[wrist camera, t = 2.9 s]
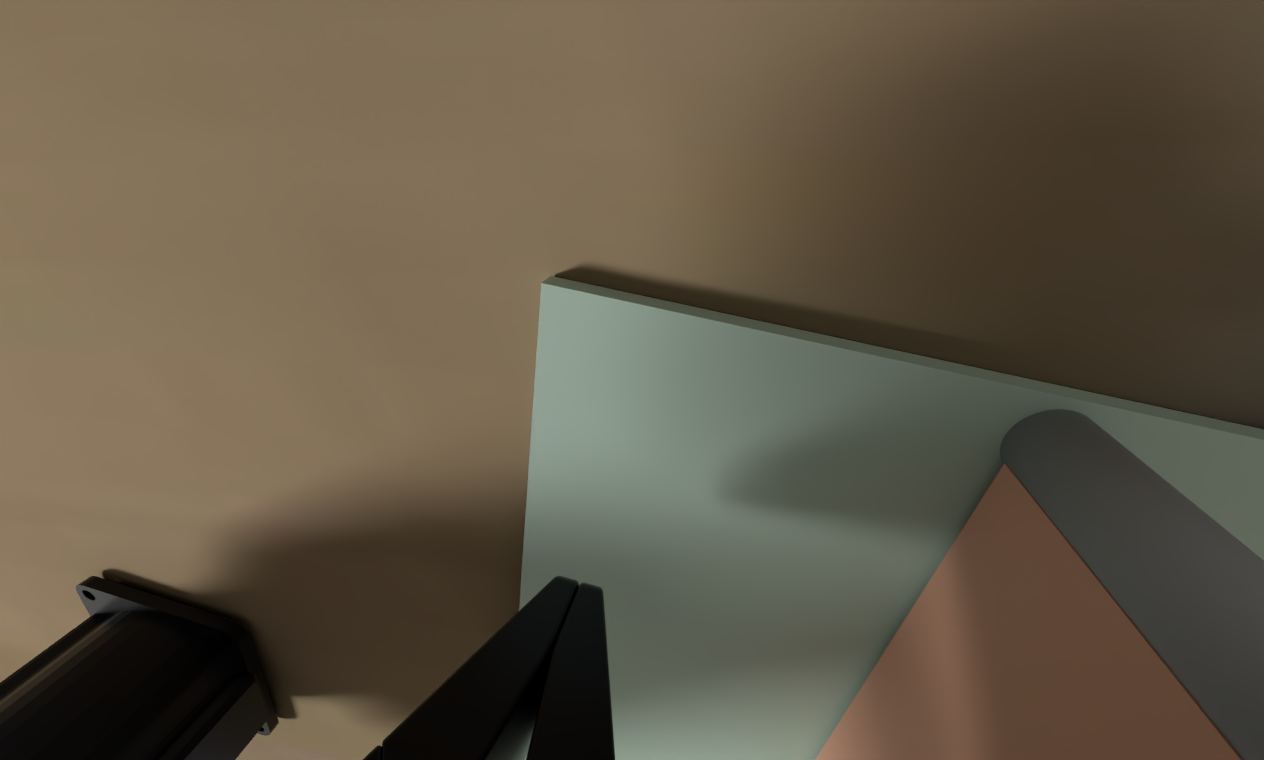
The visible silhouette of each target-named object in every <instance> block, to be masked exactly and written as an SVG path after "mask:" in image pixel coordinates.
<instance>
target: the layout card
mask: <svg viewBox="0 0 1264 760" xmlns="http://www.w3.org/2000/svg"><path fill="white" fill-rule="evenodd" d="M1055 409H1063V410H1072V411H1076V412H1079V413H1081V414H1084V415H1085V416H1087V417H1089V418H1090V419H1091V420H1092V421H1094V422H1095V423H1096V424H1097V425H1099V426H1100V427H1101V428H1102V429H1103V430H1105V431H1106V432H1107V433H1108V434H1110V435H1111V436H1112V437H1113V438H1114V439H1116V440H1117V441H1118V442H1119V443H1121V444H1122V445H1123V446H1124V447H1125V448H1127V449H1128V450H1129V451H1130V452H1132V453H1133V454H1134V455H1135V456H1137V457H1138V458H1139V459H1140V460H1141V461H1143V462H1144V463H1145V464H1146V465H1148V466H1149V467H1150V468H1151V469H1152V470H1154V471H1155V472H1156V473H1157V474H1159V475H1160V476H1161V477H1162V478H1163V479H1165V480H1166V481H1167V482H1168V483H1170V484H1171V485H1172V486H1173V487H1174V488H1176V489H1177V490H1178V491H1179V492H1181V493H1182V494H1183V495H1184V496H1185V497H1187V498H1188V499H1189V500H1190V501H1192V502H1193V503H1194V504H1195V505H1197V506H1198V507H1199V508H1200V509H1201V510H1203V511H1204V512H1205V513H1206V514H1208V515H1209V516H1210V517H1211V518H1212V519H1214V520H1215V521H1216V522H1217V523H1219V524H1220V525H1221V526H1222V527H1223V528H1225V529H1226V530H1227V531H1228V532H1230V533H1231V534H1232V535H1233V536H1234V537H1236V538H1237V539H1238V540H1239V541H1241V542H1242V543H1243V544H1244V545H1245V546H1247V547H1248V548H1249V549H1250V550H1252V551H1253V552H1254V553H1255V554H1256V555H1258V556H1259V557H1260V558H1261V559H1263V560H1264V429H1260V428H1255V427H1250V426H1246V425H1241V424H1236V423H1232V422H1227V421H1222V420H1218V419H1213V418H1208V417H1204V416H1199V415H1195V414H1190V413H1185V412H1181V411H1176V410H1171V409H1167V408H1162V407H1157V406H1153V405H1148V404H1143V403H1139V402H1134V401H1129V400H1125V399H1120V398H1116V397H1111V396H1106V395H1102V394H1097V393H1092V392H1088V391H1083V390H1078V389H1074V388H1069V387H1064V386H1060V385H1055V384H1050V383H1046V382H1041V381H1037V380H1032V379H1027V378H1023V377H1018V376H1013V375H1009V374H1004V373H999V372H995V371H990V370H985V369H981V368H976V367H972V366H967V365H962V364H958V363H953V362H948V361H944V360H939V359H934V358H930V357H925V356H920V355H916V354H911V353H906V352H902V351H897V350H893V349H888V348H883V347H879V346H874V345H869V344H865V343H860V342H855V341H851V340H846V339H841V338H837V337H832V336H827V335H823V334H818V333H814V332H809V331H804V330H800V329H795V328H790V327H786V326H781V325H776V324H772V323H767V322H762V321H758V320H753V319H749V318H744V317H739V316H735V315H730V314H725V313H721V312H716V311H711V310H707V309H702V308H697V307H693V306H688V305H683V304H679V303H674V302H670V301H665V300H660V299H656V298H651V297H646V296H642V295H637V294H632V293H628V292H623V291H618V290H614V289H609V288H604V287H600V286H595V285H591V284H586V283H581V282H577V281H572V280H567V279H563V278H558V277H553V276H550V277H549V278H548V279H546V280H545V281H543V282H542V283H541V296H540V311H539V325H538V340H537V355H536V369H535V384H534V398H533V413H532V428H531V442H530V457H529V471H528V486H527V501H526V515H525V530H524V544H523V559H522V574H521V588H520V603H519V611H520V610H521V609H522V608H523V607H524V606H525V605H526V604H527V603H528V602H529V601H530V600H531V599H532V598H533V597H534V596H535V595H536V594H537V593H538V592H539V591H540V590H542V589H543V588H544V587H545V586H546V585H547V584H548V583H549V582H550V581H551V580H552V579H553V578H554V577H556V576H564V577H567V578H571V579H574V580H577V581H578V582H579V584H580V583H583V582H585V583H588V584H592V585H595V586H599V587H601V588H602V590H603V595H604V609H605V622H606V636H607V650H608V664H609V678H610V692H611V706H612V720H613V734H614V748H615V760H815V759H816V758H817V756H818V755H819V753H820V751H821V750H822V748H823V747H824V745H825V744H826V742H827V741H828V739H829V737H830V736H831V734H832V733H833V731H834V730H835V728H836V726H837V725H838V723H839V722H840V720H841V719H842V717H843V715H844V714H845V712H846V711H847V709H848V708H849V706H850V704H851V703H852V701H853V700H854V698H855V697H856V695H857V693H858V692H859V690H860V689H861V687H862V686H863V684H864V683H865V681H866V679H867V678H868V676H869V675H870V673H871V672H872V670H873V668H874V667H875V665H876V664H877V662H878V661H879V659H880V657H881V656H882V654H883V653H884V651H885V650H886V648H887V646H888V645H889V643H890V642H891V640H892V639H893V637H894V636H895V634H896V632H897V631H898V629H899V628H900V626H901V625H902V623H903V621H904V620H905V618H906V617H907V615H908V614H909V612H910V610H911V609H912V607H913V606H914V604H915V603H916V601H917V599H918V598H919V596H920V595H921V593H922V592H923V590H924V588H925V587H926V585H927V584H928V582H929V581H930V579H931V578H932V576H933V574H934V573H935V571H936V570H937V568H938V567H939V565H940V563H941V562H942V560H943V559H944V557H945V556H946V554H947V552H948V551H949V549H950V548H951V546H952V545H953V543H954V541H955V540H956V538H957V537H958V535H959V534H960V532H961V530H962V529H963V527H964V526H965V524H966V523H967V521H968V520H969V518H970V516H971V515H972V513H973V512H974V510H975V509H976V507H977V505H978V504H979V502H980V501H981V499H982V498H983V496H984V494H985V493H986V491H987V490H988V488H989V487H990V485H991V483H992V482H993V480H994V479H995V477H996V476H997V474H998V472H999V471H1000V469H1001V468H1002V466H1003V465H1004V464H1003V462H1002V459H1001V456H1000V447H1001V443H1002V440H1003V438H1004V436H1005V435H1006V433H1007V432H1008V431H1009V430H1010V429H1011V428H1012V427H1013V426H1014V425H1015V424H1016V423H1018V422H1019V421H1021V420H1022V419H1024V418H1026V417H1028V416H1030V415H1032V414H1035V413H1038V412H1042V411H1046V410H1055ZM526 758H527V757H526ZM525 760H526V759H525Z"/></svg>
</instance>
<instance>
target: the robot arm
mask: <svg viewBox="0 0 1264 760" xmlns="http://www.w3.org/2000/svg"><path fill="white" fill-rule="evenodd" d="M76 590H77V593H78V594H79V596H80V598H81V600H82V602H83V603H84V605H85V607H86V609H87V610H88V612H89V614H90V616H91V617H89V618H88V619H87V620H85V621H84V622H83V623H81V624H80V625H79V626H77V627H76V628H74V629H73V630H72V631H70V632H69V633H68V634H66V635H65V636H64V637H62V638H61V639H59V640H58V641H57V642H55V643H54V644H53V645H51V646H50V647H49V648H47V649H46V650H44V651H43V652H42V653H40V654H39V655H38V656H36V657H35V658H34V659H32V660H31V661H29V662H28V663H27V664H25V665H24V666H23V667H21V668H20V669H19V670H17V671H16V672H14V673H13V674H12V675H10V676H9V677H8V678H6V679H5V680H4V681H2V682H1V683H0V760H235V759H236V758H237V757H238V756H239V754H240V753H241V752H242V751H243V749H244V748H245V747H246V746H247V745H248V743H249V742H250V741H251V740H252V738H253V737H254V736H255V735H256V734H257V733H258V734H261V735H269V734H270V733H271V732H272V731H273V730H274V728H275V727H276V726H277V724H278V718H277V715H276V712H275V709H274V706H273V703H272V700H271V697H270V694H269V691H268V688H267V685H266V682H265V679H264V676H263V673H262V670H261V667H260V664H259V661H258V658H257V655H256V652H255V650H254V647H253V644H252V641H251V638H250V635H249V632H248V631H247V629H246V628H245V627H244V626H242V625H241V624H240V623H238V622H236V621H233V620H230V619H227V618H224V617H221V616H218V615H215V614H212V613H209V612H205V611H202V610H199V609H196V608H193V607H190V606H187V605H184V604H181V603H177V602H174V601H171V600H168V599H165V598H162V597H159V596H156V595H152V594H149V593H146V592H143V591H140V590H137V589H134V588H131V587H127V586H124V585H121V584H118V583H115V582H112V581H109V580H106V579H103V578H99V577H96V576H91V577H89V578H88V579H86V580H85V581H83V582H82V583H80V584H79V585H77V586H76ZM526 757H527V758H526ZM525 759H526V760H615V748H614V734H613V720H612V706H611V692H610V678H609V664H608V650H607V636H606V622H605V609H604V595H603V590H602V588H601V587H599V586H595V585H592V584H588V583H585V582H583V583H580V584H579V582H578V581H577V580H574V579H571V578H567V577H564V576H556V577H554V578H553V579H552V580H551V581H550V582H549V583H548V584H547V585H546V586H545V587H544V588H543V589H542V590H540V591H539V592H538V593H537V594H536V595H535V596H534V597H533V598H532V599H531V600H530V601H529V602H528V603H527V604H526V605H525V606H524V607H523V608H522V609H521V610H520V611H518V612H517V613H516V614H515V615H514V616H513V617H512V618H511V619H510V620H509V621H508V622H507V623H506V624H505V625H504V626H503V627H502V628H501V629H500V630H499V631H498V632H496V633H495V634H494V635H493V636H492V637H491V638H490V639H489V640H488V641H487V642H486V643H485V644H484V645H483V646H482V647H481V648H480V649H479V650H478V651H477V652H475V653H474V654H473V655H472V656H471V657H470V658H469V659H468V660H467V661H466V662H465V663H464V664H463V665H462V666H461V667H460V668H459V669H458V670H457V671H456V672H455V673H453V674H452V675H451V676H450V677H449V678H448V679H447V680H446V681H445V682H444V683H443V684H442V685H441V686H440V687H439V688H438V689H437V690H436V691H435V692H434V693H433V694H431V695H430V696H429V697H428V698H427V699H426V700H425V701H424V702H423V703H422V704H421V705H420V706H419V707H418V708H417V709H416V710H415V711H414V712H413V713H412V714H411V715H409V716H408V717H407V718H406V719H405V720H404V721H403V722H402V723H401V724H400V725H399V726H398V727H397V728H396V729H395V730H394V731H393V732H392V733H391V734H390V735H388V736H387V737H386V738H385V739H384V740H383V743H382V747H381V746H377V747H376V748H375V749H373V750H372V751H371V752H370V753H369V754H368V755H367V756H366V757H365V758H364V759H363V760H525Z"/></svg>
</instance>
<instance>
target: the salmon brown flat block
mask: <svg viewBox="0 0 1264 760" xmlns="http://www.w3.org/2000/svg"><path fill="white" fill-rule="evenodd" d="M1000 456H1001V459H1002V462H1003V464H1004V465H1003V466H1002V468H1001V469H1000V471H999V472H998V474H997V476H996V477H995V479H994V480H993V482H992V483H991V485H990V487H989V488H988V490H987V491H986V493H985V494H984V496H983V498H982V499H981V501H980V502H979V504H978V505H977V507H976V509H975V510H974V512H973V513H972V515H971V516H970V518H969V520H968V521H967V523H966V524H965V526H964V527H963V529H962V530H961V532H960V534H959V535H958V537H957V538H956V540H955V541H954V543H953V545H952V546H951V548H950V549H949V551H948V552H947V554H946V556H945V557H944V559H943V560H942V562H941V563H940V565H939V567H938V568H937V570H936V571H935V573H934V574H933V576H932V578H931V579H930V581H929V582H928V584H927V585H926V587H925V588H924V590H923V592H922V593H921V595H920V596H919V598H918V599H917V601H916V603H915V604H914V606H913V607H912V609H911V610H910V612H909V614H908V615H907V617H906V618H905V620H904V621H903V623H902V625H901V626H900V628H899V629H898V631H897V632H896V634H895V636H894V637H893V639H892V640H891V642H890V643H889V645H888V646H887V648H886V650H885V651H884V653H883V654H882V656H881V657H880V659H879V661H878V662H877V664H876V665H875V667H874V668H873V670H872V672H871V673H870V675H869V676H868V678H867V679H866V681H865V683H864V684H863V686H862V687H861V689H860V690H859V692H858V693H857V695H856V697H855V698H854V700H853V701H852V703H851V704H850V706H849V708H848V709H847V711H846V712H845V714H844V715H843V717H842V719H841V720H840V722H839V723H838V725H837V726H836V728H835V730H834V731H833V733H832V734H831V736H830V737H829V739H828V741H827V742H826V744H825V745H824V747H823V748H822V750H821V751H820V753H819V755H818V756H817V758H816V759H815V760H1264V560H1263V559H1261V558H1260V557H1259V556H1258V555H1256V554H1255V553H1254V552H1253V551H1252V550H1250V549H1249V548H1248V547H1247V546H1245V545H1244V544H1243V543H1242V542H1241V541H1239V540H1238V539H1237V538H1236V537H1234V536H1233V535H1232V534H1231V533H1230V532H1228V531H1227V530H1226V529H1225V528H1223V527H1222V526H1221V525H1220V524H1219V523H1217V522H1216V521H1215V520H1214V519H1212V518H1211V517H1210V516H1209V515H1208V514H1206V513H1205V512H1204V511H1203V510H1201V509H1200V508H1199V507H1198V506H1197V505H1195V504H1194V503H1193V502H1192V501H1190V500H1189V499H1188V498H1187V497H1185V496H1184V495H1183V494H1182V493H1181V492H1179V491H1178V490H1177V489H1176V488H1174V487H1173V486H1172V485H1171V484H1170V483H1168V482H1167V481H1166V480H1165V479H1163V478H1162V477H1161V476H1160V475H1159V474H1157V473H1156V472H1155V471H1154V470H1152V469H1151V468H1150V467H1149V466H1148V465H1146V464H1145V463H1144V462H1143V461H1141V460H1140V459H1139V458H1138V457H1137V456H1135V455H1134V454H1133V453H1132V452H1130V451H1129V450H1128V449H1127V448H1125V447H1124V446H1123V445H1122V444H1121V443H1119V442H1118V441H1117V440H1116V439H1114V438H1113V437H1112V436H1111V435H1110V434H1108V433H1107V432H1106V431H1105V430H1103V429H1102V428H1101V427H1100V426H1099V425H1097V424H1096V423H1095V422H1094V421H1092V420H1091V419H1090V418H1089V417H1087V416H1085V415H1084V414H1081V413H1079V412H1076V411H1072V410H1063V409H1055V410H1046V411H1042V412H1038V413H1035V414H1032V415H1030V416H1028V417H1026V418H1024V419H1022V420H1021V421H1019V422H1018V423H1016V424H1015V425H1014V426H1013V427H1012V428H1011V429H1010V430H1009V431H1008V432H1007V433H1006V435H1005V436H1004V438H1003V440H1002V443H1001V447H1000Z"/></svg>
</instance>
